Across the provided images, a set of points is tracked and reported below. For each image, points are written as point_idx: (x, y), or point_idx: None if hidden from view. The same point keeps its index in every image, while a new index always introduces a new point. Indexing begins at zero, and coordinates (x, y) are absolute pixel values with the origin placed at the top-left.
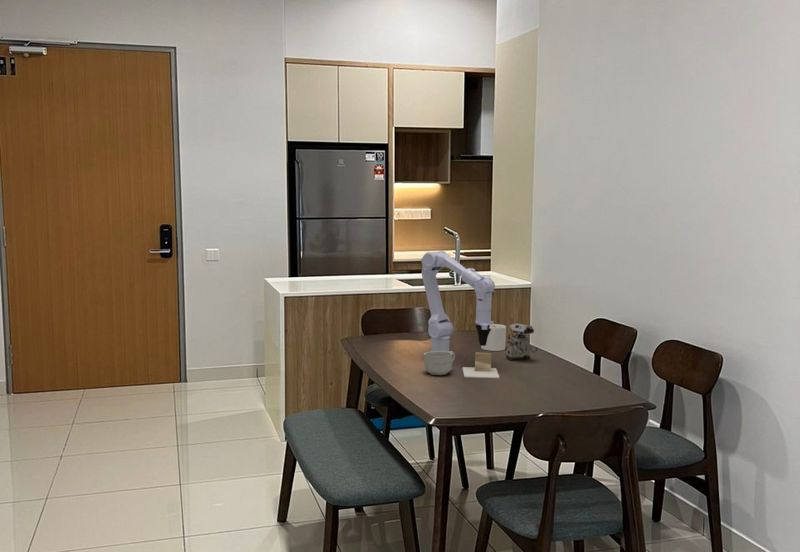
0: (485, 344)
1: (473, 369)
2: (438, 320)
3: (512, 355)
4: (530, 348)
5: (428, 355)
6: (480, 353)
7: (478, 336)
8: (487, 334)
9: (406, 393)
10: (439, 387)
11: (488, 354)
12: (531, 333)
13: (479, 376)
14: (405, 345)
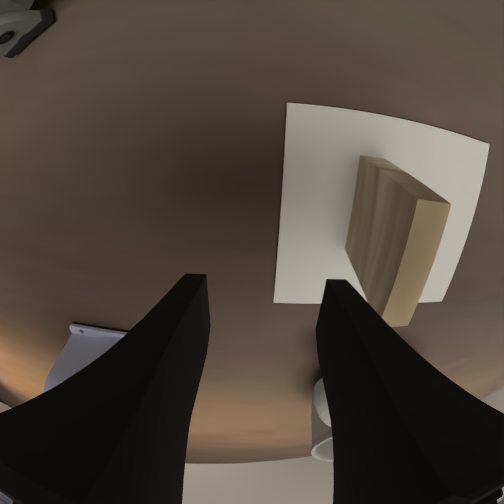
0: (352, 290)
1: (328, 254)
2: None
3: (32, 11)
4: None
5: (325, 447)
6: (420, 293)
7: (193, 403)
8: (453, 400)
9: (490, 392)
10: (493, 353)
11: (440, 227)
12: None
13: (461, 240)
14: (25, 385)
